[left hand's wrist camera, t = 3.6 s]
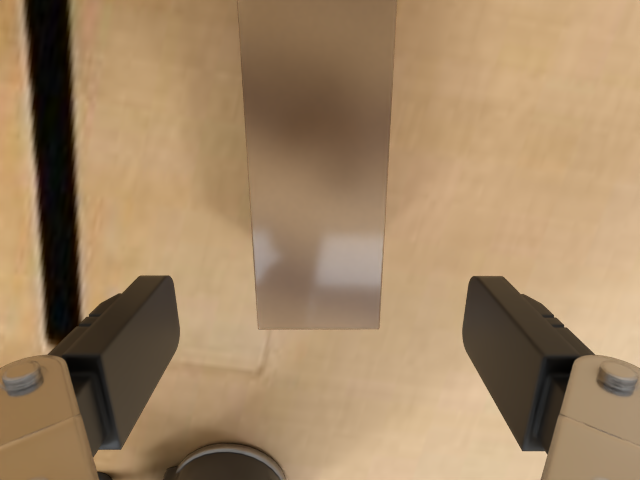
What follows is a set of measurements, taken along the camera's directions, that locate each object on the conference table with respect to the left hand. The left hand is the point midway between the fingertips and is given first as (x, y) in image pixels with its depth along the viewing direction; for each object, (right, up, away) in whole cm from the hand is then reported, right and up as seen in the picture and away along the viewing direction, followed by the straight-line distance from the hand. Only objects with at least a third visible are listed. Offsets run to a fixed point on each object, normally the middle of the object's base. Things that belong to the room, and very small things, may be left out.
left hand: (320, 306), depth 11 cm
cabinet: (0, +10, +13) cm, 16 cm away
